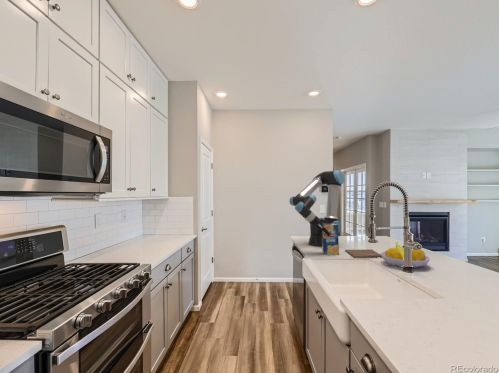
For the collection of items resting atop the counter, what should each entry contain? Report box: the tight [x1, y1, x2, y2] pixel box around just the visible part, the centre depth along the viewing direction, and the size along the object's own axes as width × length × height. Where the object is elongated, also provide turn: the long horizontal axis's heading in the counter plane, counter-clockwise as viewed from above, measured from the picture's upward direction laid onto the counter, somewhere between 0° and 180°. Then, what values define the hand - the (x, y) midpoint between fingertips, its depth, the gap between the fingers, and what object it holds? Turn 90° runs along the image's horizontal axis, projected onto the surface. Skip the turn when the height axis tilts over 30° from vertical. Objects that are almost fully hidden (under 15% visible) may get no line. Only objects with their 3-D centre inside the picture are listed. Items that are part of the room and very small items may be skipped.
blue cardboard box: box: [321, 224, 340, 256], centre depth 196 cm, size 7×11×22 cm, turn 82°
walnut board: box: [344, 249, 382, 259], centre depth 191 cm, size 20×20×1 cm
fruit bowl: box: [379, 241, 431, 268], centre depth 165 cm, size 28×27×11 cm
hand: (335, 240), depth 196 cm, fingers open, 2 cm apart
